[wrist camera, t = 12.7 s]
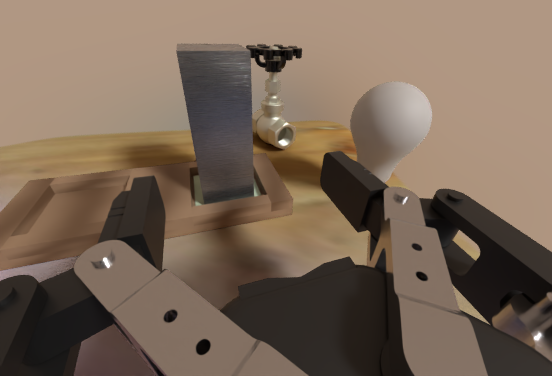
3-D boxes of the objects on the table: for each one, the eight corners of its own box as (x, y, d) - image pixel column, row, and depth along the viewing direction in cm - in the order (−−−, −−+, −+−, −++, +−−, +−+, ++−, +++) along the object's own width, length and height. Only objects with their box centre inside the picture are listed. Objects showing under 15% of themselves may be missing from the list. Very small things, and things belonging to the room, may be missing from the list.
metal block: (204, 206, 21) (176, 50, 14) (201, 179, 25) (177, 43, 18) (254, 197, 22) (250, 50, 16) (244, 173, 26) (237, 44, 19)
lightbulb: (347, 219, 22) (382, 92, 16) (327, 181, 27) (347, 74, 20) (409, 214, 23) (467, 92, 16) (378, 179, 28) (413, 74, 21)
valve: (264, 157, 31) (264, 51, 24) (240, 138, 36) (235, 44, 29) (303, 146, 34) (314, 49, 27) (277, 130, 39) (280, 43, 32)
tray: (-22, 274, 16) (-41, 257, 15) (39, 196, 23) (29, 180, 22) (291, 214, 22) (293, 198, 21) (265, 166, 29) (265, 153, 28)
